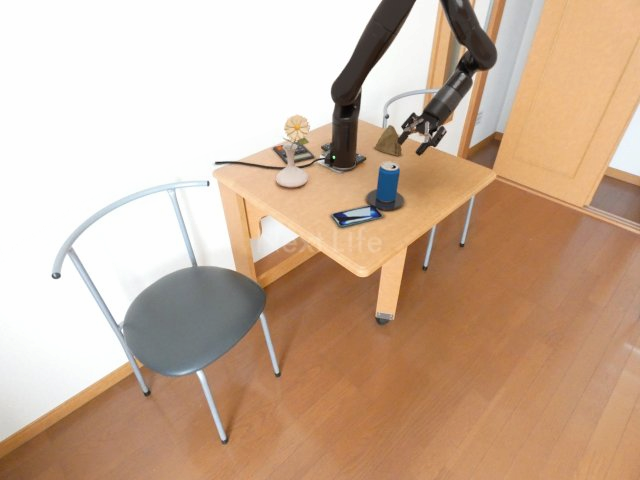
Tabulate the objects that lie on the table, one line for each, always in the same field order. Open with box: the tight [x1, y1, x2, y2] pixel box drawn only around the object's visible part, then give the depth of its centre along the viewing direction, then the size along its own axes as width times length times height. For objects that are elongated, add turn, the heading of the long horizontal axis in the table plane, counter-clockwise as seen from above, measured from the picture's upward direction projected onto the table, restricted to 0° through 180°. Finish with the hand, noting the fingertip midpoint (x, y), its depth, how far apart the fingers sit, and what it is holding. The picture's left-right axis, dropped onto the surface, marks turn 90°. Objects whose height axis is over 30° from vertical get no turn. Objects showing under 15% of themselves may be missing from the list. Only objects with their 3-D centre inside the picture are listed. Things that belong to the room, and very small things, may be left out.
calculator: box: [273, 141, 315, 165], centre depth 150 cm, size 12×1×15 cm
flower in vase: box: [275, 113, 311, 189], centre depth 124 cm, size 13×11×25 cm
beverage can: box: [376, 161, 401, 202], centre depth 119 cm, size 6×6×12 cm
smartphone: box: [331, 204, 384, 229], centre depth 116 cm, size 7×1×15 cm
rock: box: [374, 124, 402, 157], centre depth 149 cm, size 11×9×10 cm
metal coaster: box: [366, 188, 404, 212], centre depth 123 cm, size 12×12×1 cm
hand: (407, 148), depth 115 cm, fingers open, 8 cm apart
